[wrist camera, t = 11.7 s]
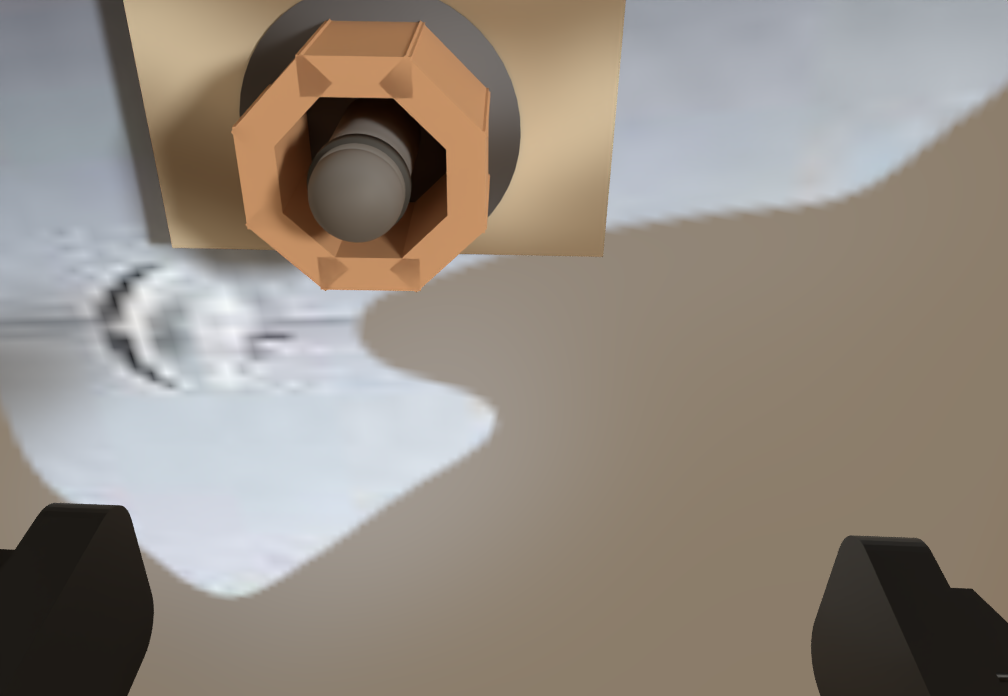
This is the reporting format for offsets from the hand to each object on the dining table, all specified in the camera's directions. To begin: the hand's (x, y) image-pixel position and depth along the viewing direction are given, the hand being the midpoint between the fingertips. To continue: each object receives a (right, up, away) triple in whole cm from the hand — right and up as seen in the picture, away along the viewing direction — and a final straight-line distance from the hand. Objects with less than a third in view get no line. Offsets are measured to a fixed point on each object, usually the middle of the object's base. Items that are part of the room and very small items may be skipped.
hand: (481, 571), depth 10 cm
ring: (-3, +9, +16) cm, 19 cm away
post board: (-3, +14, +15) cm, 21 cm away
